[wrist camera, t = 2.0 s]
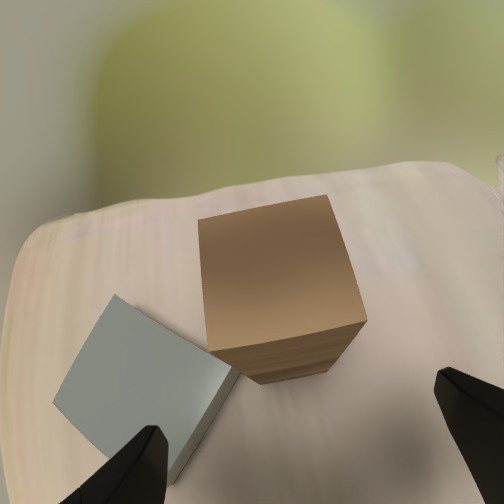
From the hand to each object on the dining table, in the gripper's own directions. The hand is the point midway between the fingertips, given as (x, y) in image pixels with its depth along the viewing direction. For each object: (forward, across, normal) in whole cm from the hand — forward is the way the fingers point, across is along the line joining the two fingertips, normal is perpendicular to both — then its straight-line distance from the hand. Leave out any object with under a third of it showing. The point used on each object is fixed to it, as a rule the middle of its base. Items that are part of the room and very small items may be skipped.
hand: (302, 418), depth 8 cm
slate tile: (+10, +10, +6) cm, 15 cm away
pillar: (+11, 0, +5) cm, 12 cm away
